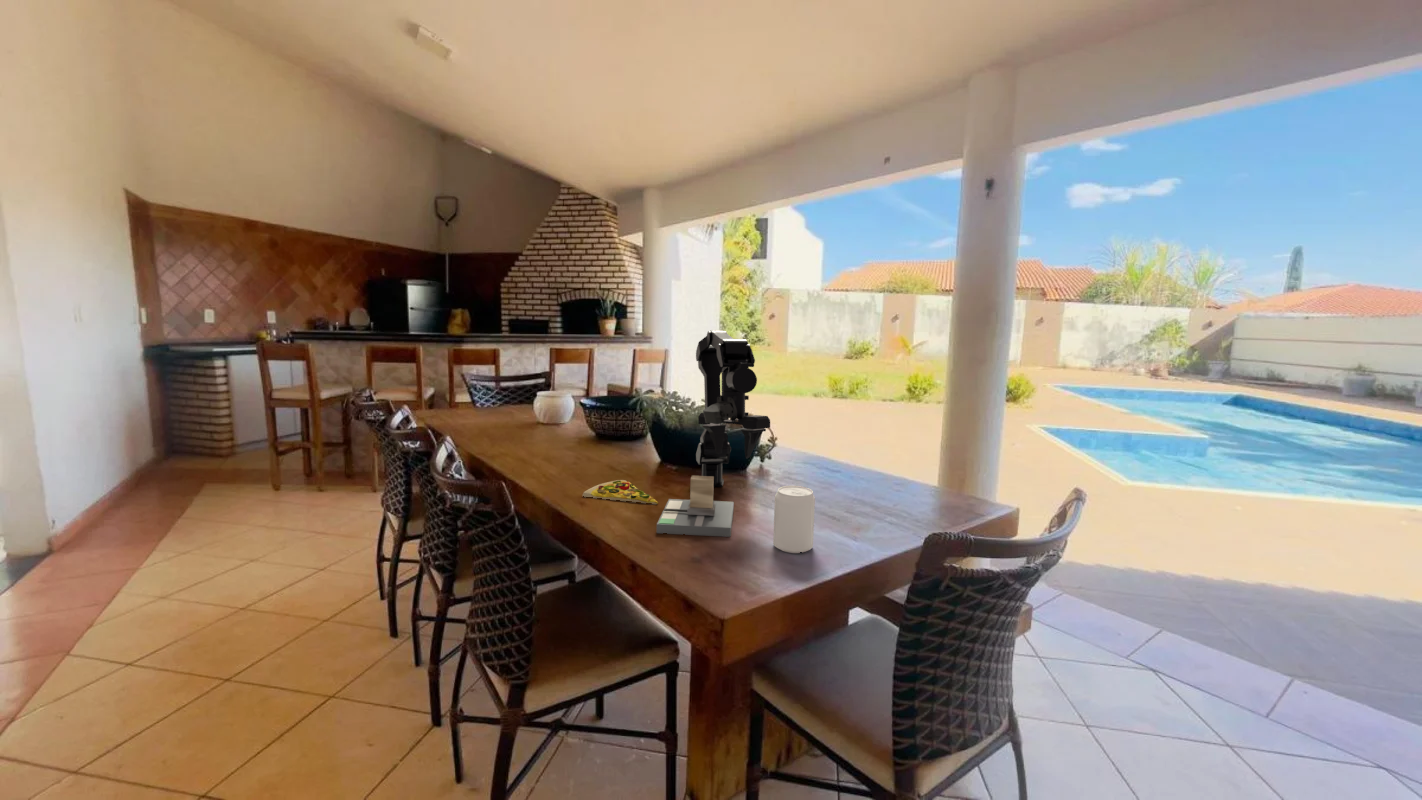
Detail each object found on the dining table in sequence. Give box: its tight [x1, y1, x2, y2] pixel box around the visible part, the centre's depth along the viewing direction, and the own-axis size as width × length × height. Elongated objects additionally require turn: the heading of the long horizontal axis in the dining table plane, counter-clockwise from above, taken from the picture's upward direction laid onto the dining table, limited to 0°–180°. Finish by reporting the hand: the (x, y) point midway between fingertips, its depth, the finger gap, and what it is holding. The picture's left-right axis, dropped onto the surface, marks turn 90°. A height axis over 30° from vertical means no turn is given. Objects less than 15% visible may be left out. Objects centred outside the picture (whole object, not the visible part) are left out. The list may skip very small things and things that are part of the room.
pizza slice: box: [582, 479, 659, 505], centre depth 149 cm, size 16×21×3 cm
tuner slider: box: [663, 475, 716, 516], centre depth 130 cm, size 5×12×8 cm, turn 86°
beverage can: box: [772, 485, 816, 554], centre depth 117 cm, size 8×8×12 cm
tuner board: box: [656, 498, 735, 538], centre depth 132 cm, size 18×16×2 cm
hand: (732, 455), depth 139 cm, fingers open, 9 cm apart
